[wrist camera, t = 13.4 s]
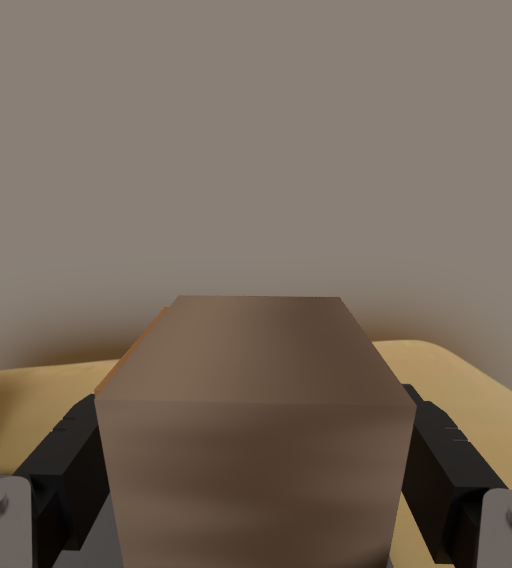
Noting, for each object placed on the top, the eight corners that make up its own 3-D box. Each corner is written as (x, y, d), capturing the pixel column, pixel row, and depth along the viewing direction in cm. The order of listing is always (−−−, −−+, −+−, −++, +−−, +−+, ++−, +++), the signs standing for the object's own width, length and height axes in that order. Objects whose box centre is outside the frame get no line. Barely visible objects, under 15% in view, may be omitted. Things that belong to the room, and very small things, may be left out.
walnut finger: (141, 735, 8) (74, 399, 5) (188, 526, 12) (169, 295, 10) (353, 744, 8) (416, 405, 5) (318, 530, 12) (339, 297, 9)
